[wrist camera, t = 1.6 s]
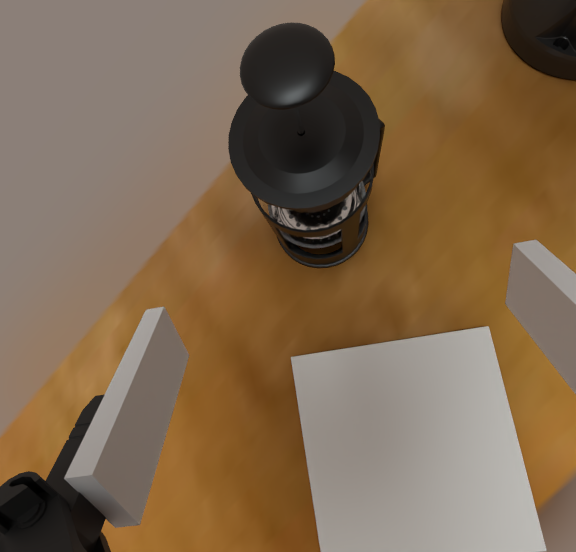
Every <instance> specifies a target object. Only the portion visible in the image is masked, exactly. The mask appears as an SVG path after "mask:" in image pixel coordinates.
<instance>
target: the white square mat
mask: <svg viewBox="0 0 576 552" xmlns="http://www.w3.org/2000/svg"><path fill="white" fill-rule="evenodd" d="M291 362H292V369H293V375H294V382H295V388H296V395H297V401H298V408H299V414H300V421H301V427H302V434H303V440H304V447H305V453H306V460H307V466H308V473H309V479H310V486H311V492H312V499H313V505H314V512H315V518H316V524H317V531H318V537H319V544H320V550H321V552H540V551H546V547H545V543H544V539H543V535H542V532H541V527H540V523H539V520H538V515H537V512H536V508H535V504H534V500H533V496H532V492H531V488H530V484H529V481H528V477H527V473H526V469H525V465H524V461H523V457H522V453H521V450H520V446H519V442H518V438H517V434H516V430H515V426H514V422H513V419H512V415H511V411H510V407H509V403H508V399H507V395H506V391H505V388H504V384H503V380H502V376H501V372H500V368H499V364H498V360H497V357H496V353H495V349H494V345H493V341H492V337H491V333H490V329H489V326H485V327H479V328H472V329H466V330H460V331H453V332H447V333H441V334H434V335H428V336H421V337H415V338H409V339H402V340H396V341H390V342H383V343H377V344H370V345H364V346H358V347H351V348H345V349H339V350H332V351H326V352H319V353H313V354H307V355H300V356H294V357H291Z"/></svg>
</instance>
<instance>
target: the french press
mask: <svg viewBox="0 0 576 552" xmlns="http://www.w3.org/2000/svg"><path fill="white" fill-rule="evenodd" d="M334 65H335V58H334V52H333V49H332V46H331V44H330V43H329V41H328V39H327V38H326V37H325V36H324V35H323V34H322V33H321V32H320V31H318V30H317V29H315V28H314V27H311V26H309V25H306V24H301V23H285V24H279V25H276V26H273V27H271V28H269V29H267V30H265V31H263V32H262V33H261V34H259V35H258V36H257V37H256V38H255V39H254V40H253V41H252V42H251V43H250V44H249V46H248V47H247V49H246V50H245V52H244V55H243V57H242V61H241V66H240V78H241V82H242V85H243V87H244V90H245V91H246V93H247V94H248V96H247V97H246V98H245V99H244V101H243V102H242V104H241V105H240V106H239V108H238V109H237V112H236V114H235V116H234V118H233V121H232V123H231V128H230V132H229V154H230V160H231V163H232V166H233V168H234V170H235V173H236V175H237V176H238V178H239V179H240V181H241V182H242V183H243V185H244V186H245V188H246V189H248V190H249V191H250V192H251V194H252V196H253V199H254V201H255V203H256V205H257V206H258V208H259V209H260V211H261V212H262V214H263V215H264V217H265V218H266V220H267V221H268V223H269V224H270V226H271V227H272V229H273V230H274V232H275V233H276V235H277V238H278V240H279V243H280V245H281V246H282V248H283V249H284V251H285V252H286V253H287V254H288V255H289V256H290V257H291V258H292V259H293V260H295V261H297V262H298V263H300V264H303V265H305V266H308V267H314V268H328V267H332V266H336V265H338V264H341V263H343V262H345V261H346V260H348V259H349V258H351V257H352V256H353V255H354V254H355V253H356V252H357V251H358V250H359V248H360V247H361V245H362V243H363V242H364V239H365V237H366V234H367V229H368V213H367V201H368V199H369V196H370V193H371V189H372V183H373V178H375V177H376V174H377V168H378V163H379V157H380V151H381V146H382V140H383V134H384V128H385V125H384V123H383V122H382V121H381V120H380V119H379V118H378V115H377V112H376V108H375V106H374V105H373V103H372V101H371V99H370V97H369V96H368V94H367V93H366V92H365V91H364V90H363V89H362V88H361V86H360V85H358V84H357V83H356V82H354V81H353V80H351V79H350V78H349V77H347V76H345V75H342V74H340V73H338V72H336V71H334ZM369 182H370V184H369V187H368V190H367V192H365V188H364V186H365V185H366V184H368V183H369ZM258 198H259V199H260V200H262V201H264V202H266V203H267V204H268V209H269V214H270V216H269V215H268V214H267V213H265V212H264V210H263V209H262V208H261V205H260V203H259V201H258ZM263 206H264V205H263ZM341 241H342V247H341V248H340V249H338V250H336V251H334V252H332V253H328V254H319V255H318V254H311V253H309V252H306V251H304V250H302V249H301V248H299V247H298V246H297V245H299V246H302V247H307V248H323V247H328V246H332V245H334V244H336V243H338V242H341Z"/></svg>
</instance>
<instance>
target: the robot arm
mask: <svg viewBox="0 0 576 552" xmlns="http://www.w3.org/2000/svg"><path fill="white" fill-rule="evenodd" d="M502 25H503V30H504V33H505V36H506V38H507V40H508V42H509V44H510V45H511V47H512V48H513V50H514V51H515V52H516V53H517V54H518V55H519V56H520V57H521V58H522V59H523V60H524V61H525V62H527V63H528V64H530V65H531V66H533V67H534V68H536V69H538V70H540V71H542V72H544V73H547V74H550V75H553V76H556V77H560V78H565V79H572V80H576V0H504V2H503V7H502ZM505 304H506V305H507V307H508V308H509V309H510V311H511V312H512V313H513V314H514V316H515V317H516V318H517V320H518V321H519V322H520V323H521V325H522V326H523V327H524V329H525V330H526V331H527V332H528V334H529V335H530V336H531V338H532V339H533V340H534V341H535V343H536V344H537V345H538V347H539V348H540V349H541V350H542V352H543V353H544V354H545V356H546V357H547V358H548V359H549V361H550V362H551V363H552V365H553V366H554V367H555V368H556V370H557V371H558V372H559V373H560V375H561V376H562V377H563V379H564V380H565V381H566V382H567V384H568V385H569V386H570V388H571V389H572V390H573V391H574V393H575V394H576V274H575V273H574V272H573V271H572V270H571V269H569V268H568V267H567V266H566V265H565V264H564V263H563V262H561V261H560V260H559V259H558V258H557V257H556V256H554V255H553V254H552V253H551V252H550V251H549V250H548V249H546V248H545V247H544V246H543V245H542V244H541V243H540V242H538V241H537V240H531V241H526V242H520V243H515V244H513V250H512V258H511V265H510V273H509V280H508V287H507V295H506V302H505ZM188 358H189V354H188V352H187V350H186V348H185V346H184V344H183V342H182V340H181V338H180V336H179V334H178V332H177V330H176V329H175V327H174V325H173V323H172V321H171V319H170V317H169V315H168V313H167V311H166V309H165V307H159V308H154V309H148V310H146V311H145V313H144V315H143V317H142V319H141V321H140V323H139V325H138V327H137V329H136V332H135V334H134V336H133V338H132V340H131V342H130V344H129V346H128V348H127V350H126V352H125V354H124V356H123V358H122V360H121V362H120V364H119V366H118V368H117V371H116V373H115V375H114V377H113V379H112V381H111V383H110V385H109V387H108V389H107V391H106V393H105V395H99V396H95V397H94V398H93V399H92V400H91V401H90V403H89V404H88V405H87V406H86V407H85V408H84V409H83V411H82V412H81V414H80V416H79V418H78V420H77V422H76V424H75V428H73V430H72V432H71V433H70V435H69V440H67V441H66V443H65V445H64V447H63V449H62V451H61V453H60V454H59V456H58V458H57V460H56V462H55V464H54V466H53V468H52V470H51V472H50V474H49V475H48V477H47V479H46V481H45V480H43V479H42V478H41V477H40V476H39V475H38V474H37V473H34V472H30V471H28V472H24V473H20V474H18V475H16V476H14V477H13V478H11V479H9V480H8V481H7V482H5V483H4V484H3V485H2V486H1V487H0V552H111V551H110V548H109V546H108V543H107V540H106V537H105V536H104V535H103V533H102V532H101V529H102V527H103V524H104V521H105V518H106V519H107V520H108V521H109V522H110V523H111V524H112V525H113V526H114V527H115V528H116V527H125V526H134V525H140V522H141V519H142V516H143V512H144V509H145V505H146V502H147V498H148V495H149V492H150V488H151V485H152V481H153V478H154V474H155V471H156V468H157V464H158V461H159V457H160V454H161V450H162V447H163V444H164V440H165V437H166V433H167V430H168V426H169V423H170V419H171V416H172V413H173V409H174V406H175V402H176V399H177V395H178V392H179V389H180V385H181V382H182V378H183V375H184V371H185V368H186V365H187V361H188Z"/></svg>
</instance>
